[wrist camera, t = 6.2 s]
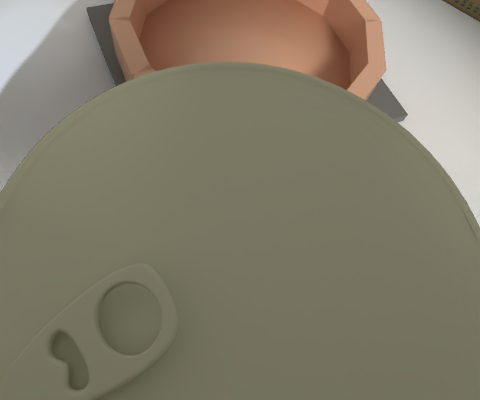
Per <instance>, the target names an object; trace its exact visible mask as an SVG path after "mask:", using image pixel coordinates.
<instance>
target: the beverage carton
mask: <svg viewBox="0 0 480 400" xmlns="http://www.w3.org/2000/svg"><path fill="white" fill-rule="evenodd" d="M443 1H445V2H447V3H448V4H450V5H452V6H454V7H455V8H457V9H459V10H460V11H462V12H464V13H466V14H468V15H469V16H471V17H473V18H474V19H476V20H478V21H480V0H443Z"/></svg>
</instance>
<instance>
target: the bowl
mask: <svg viewBox="0 0 480 400" xmlns="http://www.w3.org/2000/svg"><path fill="white" fill-rule="evenodd" d="M380 20H381V19H380V18H379V17H378V16H377V14H376V13H375V12H374V11H373V9H372V8H371V7H370V5H369V4H368V3H367V2H366V0H115V2H114V5H113V8H112V10H111V13H110V15H109V24H110V29H111V33H112V38H113V43H114V48H115V53H116V57H117V59H118V62H119V64H120V66H121V69H122V71H123V74H124V78H125V81H126V82H127V81H130V80H132V79H135V78H137V77H140V76H142V75H145V74H148V73H152V72H156V71H159V70H163V69H167V68H171V67H177V66H183V65H189V64H196V63H207V62H247V63H257V64H266V65H271V66H276V67H281V68H286V69H291V70H294V71H298V72H301V73H304V74H308V75H311V76H314V77H318V78H320V79H322V80H325V81H327V82H330V83H332V84H334V85H337V86H339V87H341V88H343V89H345V90H347V91H349V92H351V93H353V94H355V95H357V96H359V97H361V98H363V99H364V100H367V99H368V97H369V96H370V94H371V93H372V91H373V90H374V88H375V87H376V85H377V83H378V82H379V80H380V79H381V77H382V76H383V74H384V73H385V71H386V62H385V52H384V42H383V32H382V22H381V21H380Z"/></svg>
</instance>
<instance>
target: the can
mask: <svg viewBox="0 0 480 400" xmlns="http://www.w3.org/2000/svg"><path fill="white" fill-rule="evenodd" d="M0 400H480V227H479V225H478V223H477V221H476V219H475V217H474V215H473V213H472V211H471V209H470V208H469V206H468V204H467V202H466V200H465V199H464V197H463V196H462V194H461V193H460V191H459V190H458V188H457V187H456V185H455V184H454V182H453V181H452V179H451V178H450V176H449V175H448V174H447V173H446V171H445V170H444V169H443V167H442V166H441V165H440V164H439V162H438V161H437V160H436V159H435V158H434V157H433V156H432V154H431V153H430V152H429V151H428V150H427V149H426V148H425V147H424V146H423V145H422V144H421V143H420V142H419V141H418V140H417V139H416V138H415V137H414V136H413V135H412V134H411V133H410V132H408V131H407V130H406V129H405V128H403V127H402V126H401V125H400V124H398V123H397V122H396V121H395V120H393V119H392V118H391V117H390V116H388V115H387V114H386V113H385V112H383V111H381V110H380V109H378V108H377V107H375V106H374V105H372V104H370V103H369V102H367V101H366V100H364V99H363V98H361V97H359V96H357V95H355V94H353V93H351V92H349V91H347V90H345V89H343V88H341V87H339V86H337V85H334V84H332V83H330V82H327V81H325V80H322V79H320V78H318V77H314V76H311V75H308V74H304V73H301V72H298V71H294V70H291V69H286V68H281V67H276V66H271V65H266V64H257V63H247V62H207V63H196V64H189V65H183V66H177V67H171V68H167V69H163V70H159V71H156V72H152V73H148V74H145V75H142V76H140V77H137V78H135V79H132V80H130V81H127V82H125V83H122V84H120V85H118V86H115V87H113V88H111V89H109V90H107V91H105V92H103V93H102V94H100V95H98V96H96V97H95V98H93V99H91V100H90V101H88V102H86V103H85V104H84V105H82V106H81V107H79V108H78V109H77V110H75V111H74V112H72V113H71V114H69V115H68V116H67V117H65V118H64V119H63V120H62V121H61V122H59V123H58V124H57V125H56V126H55V127H54V128H53V129H51V130H50V131H49V132H48V133H47V134H46V135H45V136H44V137H43V138H42V139H41V140H40V141H39V142H38V143H37V144H36V145H35V147H34V148H33V149H32V150H31V151H30V152H29V154H28V155H27V156H26V157H25V158H24V159H23V161H22V162H21V163H20V164H19V166H18V167H17V169H16V170H15V172H14V173H13V174H12V176H11V178H10V179H9V181H8V182H7V184H6V185H5V187H4V188H3V190H2V191H1V193H0Z"/></svg>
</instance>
